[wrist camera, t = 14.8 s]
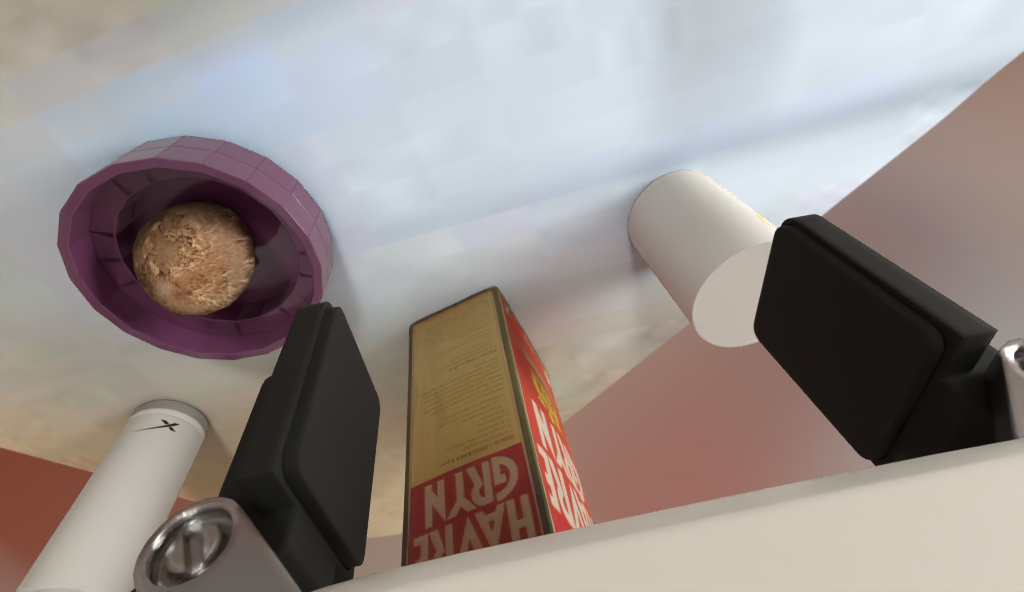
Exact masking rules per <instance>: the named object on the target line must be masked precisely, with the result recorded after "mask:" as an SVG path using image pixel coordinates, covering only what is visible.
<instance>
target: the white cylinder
mask: <svg viewBox="0 0 1024 592" xmlns="http://www.w3.org/2000/svg"><path fill="white" fill-rule="evenodd" d="M776 230H777V227H776V226H774V225H773V224H772V223H770V222H769V221H768V220H766V219H765V218H764V217H762V216H761V215H760V214H758V213H757V212H756V211H754V210H753V209H752V208H750V207H749V206H748V205H746V204H745V203H744V202H742V201H741V200H740V199H739V198H737V197H736V196H735V195H733V194H732V193H731V192H729V191H728V190H727V189H725V188H724V187H723V186H721V185H720V184H719V183H717V182H716V181H715V180H713V179H712V178H711V177H709V176H708V175H706V174H704V173H702V172H699V171H695V170H679V171H675V172H671V173H668V174H666V175H664V176H662V177H660V178H658V179H657V180H655V181H654V182H652V183H651V184H650V185H649V186H647V187H646V188H645V189H644V190H643V191H642V193H641V194H640V195H639V196H638V198H637V199H636V201H635V203H634V204H633V206H632V209H631V211H630V215H629V219H628V233H629V237H630V240H631V242H632V244H633V245H634V247H635V248H636V249H637V251H638V252H639V253H640V255H641V256H642V257H643V259H644V260H645V262H646V263H647V264H648V266H649V267H650V268H651V270H652V271H653V272H654V274H655V275H656V277H657V278H658V279H659V281H660V282H661V283H662V285H663V286H664V287H665V289H666V290H667V292H668V293H669V294H670V296H671V297H672V298H673V300H674V301H675V302H676V304H677V305H678V307H679V308H680V309H681V311H682V312H683V313H684V315H685V316H686V317H687V319H688V320H689V322H690V323H691V324H692V326H693V327H694V328H695V330H696V331H697V332H698V334H699V335H700V336H701V337H702V338H703V339H704V340H706V341H707V342H709V343H711V344H714V345H717V346H723V347H739V346H744V345H749V344H752V343H755V342H758V341H759V340H758V339H757V337H756V335H755V333H754V328H753V324H754V319H755V315H756V310H757V306H758V302H759V297H760V293H761V289H762V284H763V280H764V276H765V271H766V267H767V263H768V258H769V254H770V250H771V245H772V241H773V237H774V233H775V231H776Z"/></svg>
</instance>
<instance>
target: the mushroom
mask: <svg viewBox="0 0 1024 592" xmlns="http://www.w3.org/2000/svg"><path fill="white" fill-rule="evenodd" d="M132 254H133V269H134V271H135V274H136V276H137V279H138V281H139V284H140V286H141V287H142V288H143V290H144V291H145V292H146V293H147V294H148V296H149V297H150V298H151V299H152V300H153V301H154V302H155V303H156V304H158V305H160V306H162V307H163V308H165V309H167V310H169V311H171V312H172V313H174V314H178V315H208V314H210V313H213V312H215V311H218V310H220V309H223V308H225V307H228V306H230V305H231V304H232V303H233V302H234V301H235V300H236V299H237V298H238V297H239V296H240V295H241V294H242V293H243V291H244V290H245V289H246V288H247V286H248V284H249V281H250V279H251V277H252V276H253V271H254V269H255V243H254V241H253V239H252V237H251V235H250V233H249V230H248V228H247V226H246V224H245V223H244V222H243V221H242V220H241V219H240V218H239V217H238V216H237V215H236V214H235V213H234V212H233V211H232V210H231V209H230V208H228V207H226V206H223V205H220V204H217V203H215V202H212V201H209V200H197V201H190V202H183V203H178V204H175V205H173V206H171V207H169V208H168V209H166V210H164V211H162V212H160V213H159V214H157V215H155V216H154V217H152V218H151V219H150V220H149V221H148V222H147V223H146V224H145V225H144V226H143V227H142V228H141V229H140V230H139V231H138V234H137V237H136V240H135V242H134V245H133V248H132Z"/></svg>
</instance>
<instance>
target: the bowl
mask: <svg viewBox="0 0 1024 592" xmlns="http://www.w3.org/2000/svg"><path fill="white" fill-rule="evenodd" d="M197 200H209V201H212V202H215V203H217V204H220V205H223V206H226V207H228V208H230V209H231V210H232V211H233V212H234V213H235V214H236V215H237V216H238V217H239V218H240V219H241V220H242V221H243V222H244V223H245V224H246V226H247V228H248V230H249V233H250V235H251V237H252V239H253V241H254V243H255V269H254V271H253V276H252V277H251V279H250V281H249V284H248V286H247V288H246V289H245V290H244V291H243V293H242V294H241V295H240V296H239V297H238V298H237V299H236V300H235V301H234V302H233V303H232V304H231V305H230V306H228V307H225V308H223V309H220V310H218V311H215V312H213V313H210V314H208V315H178V314H174V313H172V312H171V311H169V310H167V309H165V308H163V307H162V306H160V305H158V304H156V303H155V302H154V301H153V300H152V299H151V298H150V297H149V296H148V294H147V293H146V292H145V291H144V290H143V288H142V287H141V286H140V284H139V281H138V279H137V276H136V274H135V271H134V269H133V254H132V248H133V245H134V242H135V240H136V237H137V234H138V231H139V230H140V229H141V228H142V227H143V226H144V225H145V224H146V223H147V222H148V221H149V220H150V219H151V218H152V217H154V216H155V215H157V214H159V213H160V212H162V211H164V210H166V209H168V208H169V207H171V206H173V205H175V204H178V203H183V202H190V201H197ZM57 245H58V248H59V251H60V254H61V257H62V259H63V262H64V265H65V267H66V270H67V273H68V276H69V278H70V279H71V281H72V282H73V283H74V284H75V286H76V287H77V288H78V289H79V291H80V292H81V293H82V294H83V296H84V297H85V298H86V299H87V301H88V302H89V303H90V304H91V306H92V307H93V308H94V309H95V310H96V311H98V312H99V313H100V314H102V315H103V316H104V317H105V318H107V319H108V320H109V321H111V322H112V323H113V324H115V325H116V326H117V327H119V328H120V329H121V330H123V331H124V332H126V333H128V334H130V335H132V336H134V337H136V338H139V339H141V340H143V341H145V342H147V343H149V344H151V345H154V346H156V347H158V348H160V349H161V348H162V349H163V350H167V351H171V352H175V353H179V354H183V355H187V356H191V357H195V358H201V359H225V360H236V359H241V358H247V357H252V356H257V355H263V354H267V353H269V352H271V351H274V350H276V349H278V348H280V347H282V346H283V345H284V342H285V340H286V337H287V334H288V332H289V329H290V327H291V324H292V321H293V319H294V316H295V313H296V311H297V309H298V307H301V306H306V305H312V304H317V303H320V302H321V299H322V297H323V294H324V291H325V287H326V284H327V281H328V278H329V275H330V272H331V268H332V237H331V234H330V231H329V229H328V226H327V224H326V221H325V218H324V216H323V213H322V211H321V209H320V207H319V206H318V205H317V204H316V202H315V201H314V200H313V199H312V197H311V196H310V195H309V194H308V192H307V191H306V190H305V189H304V187H303V186H302V185H301V184H300V182H299V181H298V180H297V179H295V178H294V177H293V176H291V175H290V174H289V173H287V172H286V171H285V170H283V169H282V168H280V167H279V166H278V165H276V164H275V163H274V162H272V161H271V160H270V159H268V158H266V157H265V156H262V155H260V154H257V153H255V152H252V151H250V150H248V149H245V148H243V147H240V146H238V145H236V144H233V143H231V142H227V141H223V140H216V139H208V138H201V137H194V136H178V137H172V138H166V139H160V140H154V141H148V142H146V143H144V144H142V145H140V146H139V147H137V148H135V149H134V150H132V151H130V152H128V153H127V154H125V155H123V156H122V157H120V158H118V159H117V160H115V161H113V162H112V163H110V164H109V165H107V166H105V167H104V168H102V169H101V170H99V171H97V172H96V173H94V174H93V175H91V176H89V177H88V178H86V179H85V180H83V181H81V182H80V183H79V184H78V185H77V186H76V188H75V189H74V191H73V192H72V194H71V195H70V197H69V198H68V200H67V201H66V203H65V205H64V206H63V208H62V209H61V211H60V215H59V229H58V243H57Z"/></svg>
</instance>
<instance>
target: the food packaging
mask: <svg viewBox="0 0 1024 592" xmlns="http://www.w3.org/2000/svg"><path fill="white" fill-rule="evenodd" d="M590 525H594V522H593V519H592V516H591V512H590V510H589V506H588V503H587V500H586V497H585V494H584V491H583V488H582V485H581V482H580V479H579V475H578V472H577V469H576V466H575V463H574V460H573V456H572V453H571V450H570V447H569V444H568V441H567V438H566V434H565V432H564V428H563V425H562V422H561V419H560V415H559V412H558V409H557V405H556V402H555V398H554V395H553V391H552V388H551V384H550V380H549V374H548V373H547V371H546V369H545V367H544V365H543V364H542V362H541V360H540V359H539V357H538V355H537V353H536V352H535V350H534V348H533V346H532V344H531V342H530V341H529V339H528V337H527V335H526V334H525V332H524V330H523V329H522V327H521V326H520V324H519V322H518V321H517V319H516V318H515V316H514V314H513V312H512V310H511V309H510V307H509V305H508V303H507V301H506V300H505V298H504V297H503V295H502V294H501V292H500V291H499V289H498V288H497V287H495V286H493V287H490V288H488V289H485V290H483V291H481V292H478V293H476V294H474V295H472V296H470V297H468V298H466V299H464V300H462V301H460V302H458V303H455V304H453V305H451V306H449V307H447V308H445V309H442V310H440V311H438V312H436V313H434V314H432V315H429V316H427V317H425V318H423V319H421V320H419V321H417V322H415V323H413V324H412V325H411V326H410V331H409V377H408V410H407V441H406V471H405V495H404V517H403V539H402V541H403V542H402V562H401V567H403V566H408V565H412V564H416V563H421V562H425V561H429V560H434V559H438V558H442V557H446V556H451V555H455V554H459V553H464V552H468V551H472V550H477V549H482V548H487V547H491V546H496V545H501V544H505V543H510V542H515V541H519V540H524V539H529V538H533V537H538V536H543V535H547V534H552V533H557V532H561V531H566V530H571V529H576V528H580V527H585V526H590Z"/></svg>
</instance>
